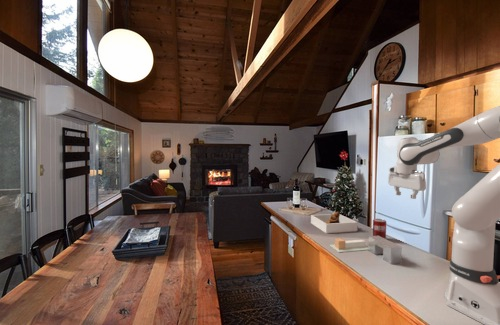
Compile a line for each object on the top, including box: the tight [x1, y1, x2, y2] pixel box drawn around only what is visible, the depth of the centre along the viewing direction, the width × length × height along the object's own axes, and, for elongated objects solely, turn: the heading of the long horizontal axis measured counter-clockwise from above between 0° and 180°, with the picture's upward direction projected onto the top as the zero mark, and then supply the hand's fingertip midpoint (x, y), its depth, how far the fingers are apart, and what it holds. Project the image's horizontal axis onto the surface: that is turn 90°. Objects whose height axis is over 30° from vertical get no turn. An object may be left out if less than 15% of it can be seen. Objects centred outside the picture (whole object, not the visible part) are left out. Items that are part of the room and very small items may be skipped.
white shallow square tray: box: [310, 213, 359, 234], centre depth 177 cm, size 23×23×6 cm
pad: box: [329, 243, 369, 253], centre depth 140 cm, size 10×20×1 cm, turn 101°
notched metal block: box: [367, 235, 403, 265], centre depth 128 cm, size 16×6×8 cm, turn 11°
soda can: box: [372, 218, 387, 239], centre depth 152 cm, size 7×7×12 cm
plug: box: [334, 237, 367, 249], centre depth 140 cm, size 4×17×4 cm, turn 102°
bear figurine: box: [325, 211, 340, 224], centre depth 173 cm, size 14×15×12 cm
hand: (405, 196), depth 126 cm, fingers open, 8 cm apart
